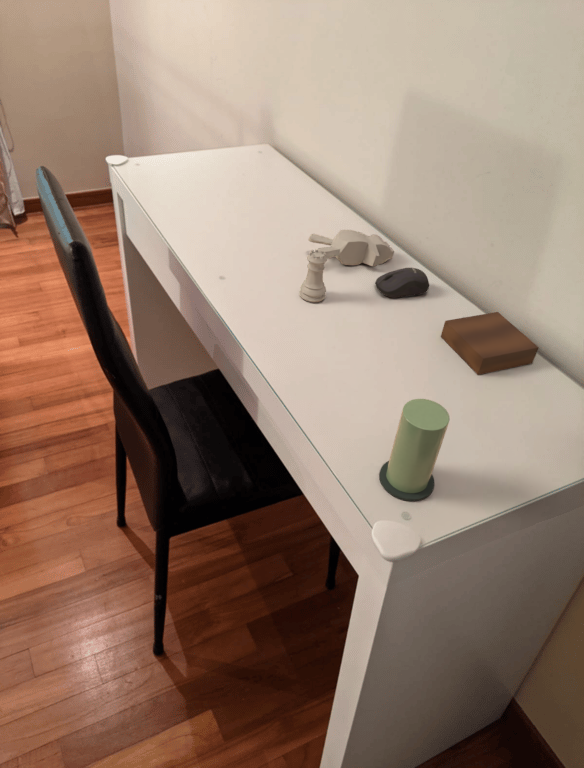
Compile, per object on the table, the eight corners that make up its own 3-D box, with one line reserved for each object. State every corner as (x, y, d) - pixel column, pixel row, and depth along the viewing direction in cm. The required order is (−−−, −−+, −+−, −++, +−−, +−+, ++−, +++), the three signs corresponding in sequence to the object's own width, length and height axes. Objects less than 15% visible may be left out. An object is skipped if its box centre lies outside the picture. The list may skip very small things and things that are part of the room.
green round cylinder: (436, 487, 70) (459, 424, 64) (399, 498, 69) (418, 434, 62) (414, 457, 74) (433, 394, 67) (378, 466, 72) (394, 403, 66)
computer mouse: (370, 283, 106) (374, 262, 104) (419, 280, 109) (424, 260, 106) (382, 300, 102) (386, 279, 100) (432, 297, 105) (438, 276, 102)
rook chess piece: (293, 293, 102) (297, 250, 97) (314, 287, 104) (319, 244, 99) (310, 306, 99) (315, 262, 94) (331, 299, 101) (337, 255, 96)
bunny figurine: (403, 250, 108) (324, 245, 104) (394, 276, 111) (317, 271, 107) (383, 227, 115) (309, 220, 110) (376, 251, 118) (303, 246, 114)
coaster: (444, 493, 70) (445, 491, 70) (396, 507, 68) (396, 505, 68) (415, 455, 75) (416, 452, 74) (369, 466, 73) (370, 464, 72)
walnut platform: (532, 363, 92) (539, 347, 90) (477, 375, 88) (483, 358, 86) (492, 327, 99) (497, 311, 97) (440, 336, 95) (445, 320, 93)
